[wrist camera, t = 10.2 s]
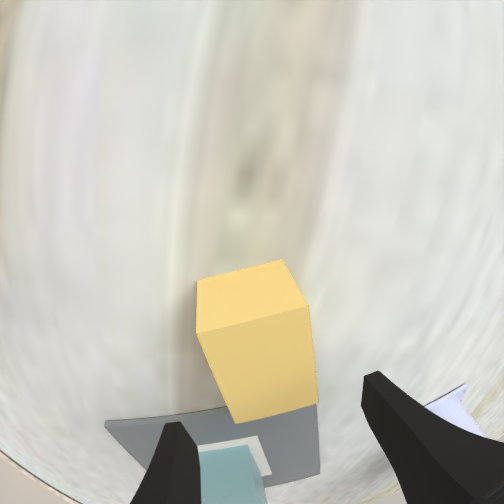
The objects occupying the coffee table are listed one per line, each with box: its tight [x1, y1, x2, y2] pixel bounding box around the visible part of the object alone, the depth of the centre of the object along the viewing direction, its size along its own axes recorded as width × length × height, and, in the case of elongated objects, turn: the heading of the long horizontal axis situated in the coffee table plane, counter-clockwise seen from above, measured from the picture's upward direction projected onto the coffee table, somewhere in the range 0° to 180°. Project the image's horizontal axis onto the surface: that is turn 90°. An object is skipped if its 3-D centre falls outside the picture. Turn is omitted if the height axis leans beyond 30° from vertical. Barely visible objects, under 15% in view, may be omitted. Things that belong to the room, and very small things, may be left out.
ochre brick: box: [196, 259, 319, 424], centre depth 15 cm, size 6×4×4 cm
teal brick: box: [198, 444, 267, 504], centre depth 19 cm, size 6×4×4 cm
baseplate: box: [104, 404, 320, 488], centre depth 22 cm, size 16×16×1 cm
